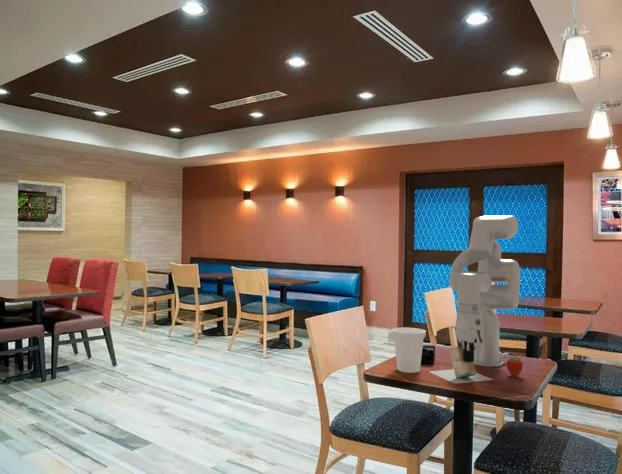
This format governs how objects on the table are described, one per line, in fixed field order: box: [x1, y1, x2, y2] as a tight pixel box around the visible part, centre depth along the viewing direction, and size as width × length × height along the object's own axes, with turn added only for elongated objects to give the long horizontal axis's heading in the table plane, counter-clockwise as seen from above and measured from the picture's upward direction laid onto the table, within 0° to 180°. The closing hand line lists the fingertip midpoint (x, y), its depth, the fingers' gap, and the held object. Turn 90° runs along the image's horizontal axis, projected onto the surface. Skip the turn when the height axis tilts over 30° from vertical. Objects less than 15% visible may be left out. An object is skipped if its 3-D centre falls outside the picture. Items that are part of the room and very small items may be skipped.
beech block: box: [449, 345, 477, 378], centre depth 171 cm, size 5×5×10 cm
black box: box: [420, 345, 436, 366], centre depth 194 cm, size 10×7×7 cm
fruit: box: [506, 355, 524, 378], centre depth 174 cm, size 5×5×8 cm
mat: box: [428, 368, 494, 385], centre depth 174 cm, size 16×16×1 cm
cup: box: [391, 327, 427, 374], centre depth 181 cm, size 12×12×15 cm
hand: (468, 361), depth 167 cm, fingers closed
